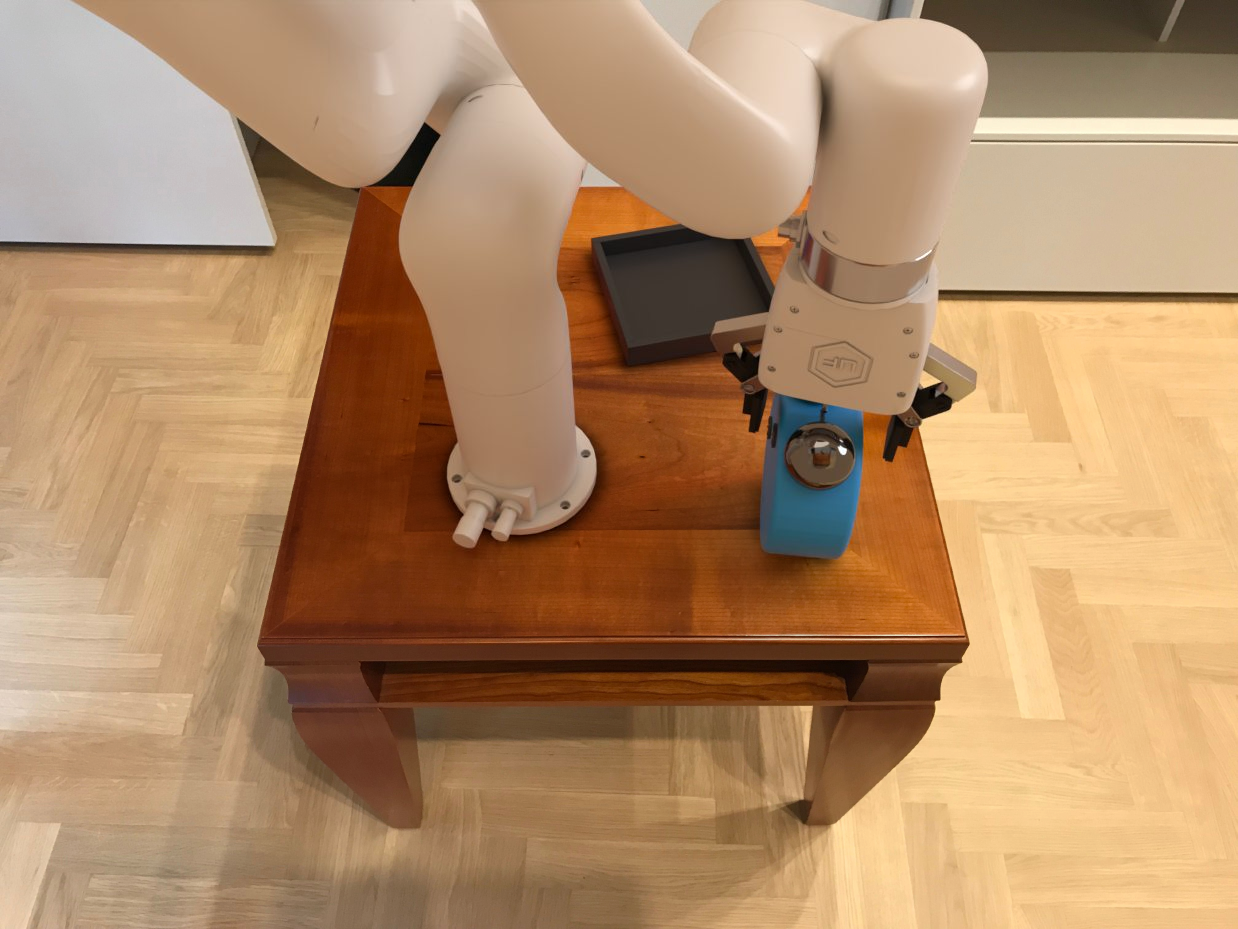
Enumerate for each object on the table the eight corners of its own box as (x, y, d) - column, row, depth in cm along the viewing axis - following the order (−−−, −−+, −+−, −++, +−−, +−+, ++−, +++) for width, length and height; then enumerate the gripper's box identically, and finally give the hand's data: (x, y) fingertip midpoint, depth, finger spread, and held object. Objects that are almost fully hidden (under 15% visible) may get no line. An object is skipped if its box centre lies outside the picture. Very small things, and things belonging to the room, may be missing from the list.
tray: (786, 338, 90) (790, 318, 88) (627, 367, 88) (627, 347, 86) (736, 233, 99) (739, 213, 97) (591, 257, 97) (590, 237, 95)
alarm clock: (833, 592, 74) (873, 480, 62) (753, 584, 74) (778, 471, 62) (831, 459, 81) (867, 336, 69) (759, 452, 82) (782, 329, 70)
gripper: (706, 263, 54) (693, 446, 68) (1019, 319, 51) (939, 499, 65) (734, 184, 58) (717, 371, 72) (1024, 231, 55) (948, 418, 69)
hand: (822, 432), depth 68 cm, fingers open, 9 cm apart
